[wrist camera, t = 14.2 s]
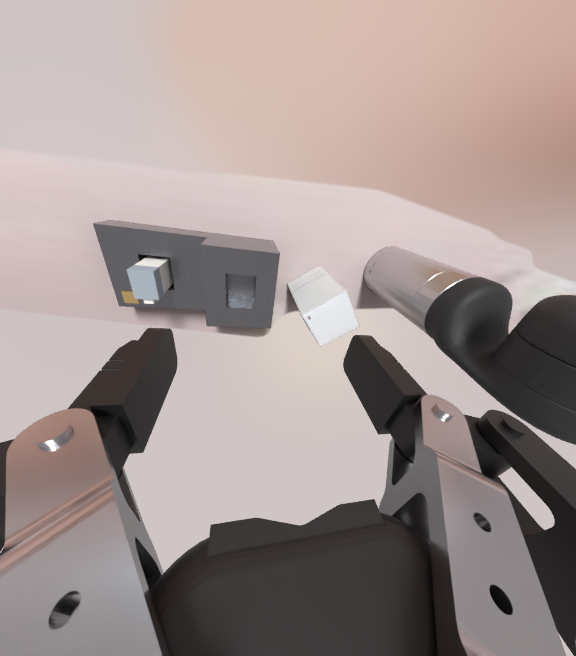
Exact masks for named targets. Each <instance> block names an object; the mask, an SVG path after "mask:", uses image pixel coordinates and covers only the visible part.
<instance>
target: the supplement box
mask: <svg viewBox="0 0 576 656" xmlns="http://www.w3.org/2000/svg"><path fill="white" fill-rule="evenodd" d="M287 285H288V287H289V289H290V292H291V294H292V296H293V298H294V301H295V303H296V305H297V307H298V310H299V312H300V314H301V316H302V318H303V320H304V321H305V323H306V325H307V327H308V328H309V330H310V331H311V333H312V335H313V336H314V338H315V339H316V341H317V342H318V344H319V346H323V345H325V344H327V343H329V342H330V341H332V340H334V339H336V338H338V337H340V336H342V335H344V334H346V333H348V332H350V331H352V330H354V329H356V328H358V327H359V323H358V321H357V318H356V315H355V312H354V309H353V306H352V304H351V301H350V298H349V295H348V292H347V290H345V289H344V288H343V287H342V286H341V285H340V284H339V283H338V282H337V281H336V280H334V279H333V278H332V277H331V276H330V275H329V274H328V273H327V272H326V271H325V270H324V269H323V268H322V267H321V266H317V267H316V268H314V269H312V270H310V271H309V272H307V273H305V274H303V275H302V276H300V277H298V278H297V279H295V280H293V281H291V282H290V283H288V284H287Z"/></svg>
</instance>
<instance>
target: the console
mask: <svg viewBox="0 0 576 656" xmlns="http://www.w3.org/2000/svg"><path fill="white" fill-rule="evenodd" d="M93 225H94V228H95V231H96V234H97V238H98V241H99V244H100V247H101V250H102V253H103V256H104V260H105V263H106V266H107V269H108V272H109V275H110V278H111V282H112V285H113V288H114V291H115V294H116V297H117V300H118V304H119V306H126V307H146V308H166V309H185V310H205V311H206V325H207V326H219V327H247V328H271V323H272V314H273V306H274V298H275V289H276V281H277V273H278V264H279V256H280V253H279V251H278V249H277V247H276V245H275V243H274V242H273V241H270V240H262V239H255V238H247V237H239V236H231V235H223V234H215V233H207V232H200V231H192V230H184V229H176V228H168V227H160V226H152V225H145V224H137V223H129V222H121V221H113V220H108V221H103V222H98V223H93ZM149 255H152V256H162V257H170V262H171V268H172V275H173V281H174V283H173V284H172V285H171V287H170V288H169V289H168V290H167V291H166V292H165V294H164V295H163V296H162V297H161V298H160V300H157V301H156V302H155V303H154V304H144V300H143V299H134V295H133V291H132V288H131V284H130V280H129V277H128V273H127V269H128V268H130V267H131V266H133V265H135V264H136V263H138V262H139V261H141V260H143V259H144V258H146V257H147V256H149Z"/></svg>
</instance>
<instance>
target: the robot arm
mask: <svg viewBox="0 0 576 656" xmlns="http://www.w3.org/2000/svg"><path fill="white" fill-rule="evenodd" d="M364 280H365V284H366V285H367V287H368V288H369V289H370V290H372V291H373V292H374V293H375V294H377V295H378V296H379V297H380V298H382V299H383V300H384V301H385V302H387V303H388V304H389V305H391V306H392V307H393V308H394V309H396V310H397V311H398V312H399V313H401V314H402V315H403V316H405V317H406V318H407V319H408V320H410V321H411V322H412V323H414V324H415V325H416V326H418V327H419V328H420V329H421V330H423V331H424V332H425V333H426V334H428V335H429V336H430V337H431V338H433V339H434V340H435V343H436V344H437V346H438V347H439V348H440V349H441V350H442V352H444V353H445V354H446V355H447V356H448V357H449V358H450V359H452V360H453V361H454V362H455V363H456V364H457V365H458V366H460V367H461V368H462V369H463V370H464V371H465V372H466V373H467V374H468V375H469V376H470V377H471V378H473V379H474V380H475V381H476V382H477V383H478V384H479V385H480V386H481V387H482V388H483V389H485V390H486V391H487V392H488V393H489V394H490V395H491V396H493V397H494V398H495V399H496V400H497V401H498V402H500V403H501V404H502V405H504V406H505V407H506V408H507V409H509V410H510V411H511V412H513V413H514V414H515V415H517V416H518V417H520V418H521V419H523V420H525V421H526V422H528V423H529V424H531V425H532V426H534V427H536V428H537V429H539V430H541V431H544V432H545V433H547V434H550V435H551V436H553V437H555V438H558V439H560V440H563V441H566V442H569V443H572V444H575V445H576V296H574V295H559V296H552V297H548V298H545V299H543V300H542V301H540V302H539V303H537V304H536V305H535V306H534V307H533V308H532V309H531V310H530V311H529V312H528V313H527V314H526V315H525V316H524V318H523V319H522V320H521V321H520V322H519V323H518V324H517V326H516V327H515V328H514V329H513V330H512V332H511V333H510V334H508V326H509V319H510V315H511V310H512V297H511V294H510V292H509V291H508V289H507V288H505V287H504V286H503V285H501V284H499V283H497V282H494V281H491V280H488V279H485V278H483V277H480V276H477V275H474V274H471V273H469V272H466V271H463V270H460V269H457V268H454V267H452V266H449V265H446V264H443V263H440V262H438V261H435V260H432V259H429V258H426V257H424V256H421V255H418V254H415V253H413V252H410V251H407V250H404V249H401V248H398V247H387V248H384V249H382V250H380V251H379V252H377V253H376V254H375V255H374V256H373V257H372V258H371V259H370V261H369V262H368V264H367V266H366V269H365V273H364ZM343 366H344V371H345V373H346V375H347V377H348V379H349V381H350V382H351V384H352V386H353V388H354V390H355V392H356V394H357V395H358V397H359V399H360V401H361V403H362V405H363V407H364V408H365V410H366V412H367V414H368V416H369V418H370V419H371V421H372V423H373V425H374V427H375V429H376V431H377V433H378V434H391V436H392V437H393V438H392V440H391V441H390V445H389V456H388V457H389V458H388V468H387V479H386V488H385V492H384V495H383V498H382V500H381V502H380V506H379V509H378V507H377V505H376V502H375V500H374V499H372V500H366V501H360V502H353V503H347V504H341V505H338V506H336V507H335V508H333V509H331V510H329V511H327V512H326V513H324V514H322V515H321V516H319V517H317V518H315V519H314V520H312V521H310V522H309V523H307V524H305V525H301V526H298V525H292V524H288V523H282V522H277V521H271V520H266V519H261V518H251V519H245V520H238V521H232V522H226V523H220V524H213V525H211V528H210V537H209V538H207V539H205V540H203V541H201V542H199V543H198V544H197V545H195V546H194V547H192V548H191V549H189V550H188V551H187V552H185V553H184V554H183V555H182V556H181V557H180V558H178V559H177V560H176V561H175V562H174V563H173V564H172V565H171V566H170V567H169V568H168V569H167V570H166V572H164V573H163V570H162V567H161V565H160V562H159V559H158V557H157V554H156V551H155V549H154V546H153V544H152V541H151V539H150V537H149V535H148V533H147V531H146V528H145V526H144V523H143V521H142V518H141V515H140V512H139V509H138V507H137V504H136V501H135V498H134V496H133V493H132V490H131V487H130V485H129V482H128V479H127V476H126V473H125V471H124V468H123V466H124V464H125V462H126V459H127V457H128V455H129V454H131V453H143V452H144V449H145V447H146V444H147V442H148V439H149V437H150V435H151V432H152V430H153V427H154V425H155V422H156V420H157V417H158V415H159V412H160V410H161V407H162V405H163V403H164V400H165V398H166V395H167V393H168V390H169V388H170V386H171V383H172V381H173V378H174V376H175V373H176V370H177V355H176V349H175V343H174V338H173V333H172V330H171V329H166V328H148V329H147V330H146V331H145V332H144V333H143V335H142V336H141V338H140V339H139V340H138V341H136V340H132V341H130V342H128V343H127V344H125V345H124V346H122V347H120V348H119V349H118V350H117V351H116V352H115V353H114V355H113V356H112V357H111V358H110V359H109V362H107V363H106V364H105V365H104V366H103V368H102V371H99V372H98V373H97V375H96V376H95V377H94V378H93V380H92V381H91V382H90V383H89V384H88V385H87V387H86V388H85V389H84V390H83V391H82V393H81V394H80V395H79V396H78V397H77V398H76V400H75V401H74V402H73V403H72V404H71V405H70V407H69V408H68V409H67V410H62V411H59V412H56V413H53V414H50V415H48V416H46V417H44V418H42V419H40V420H38V421H37V422H35V423H33V424H32V425H30V426H29V427H28V428H26V429H25V430H23V431H22V432H21V433H20V434H19V435H18V436H17V437H16V438H15V439H13V440H9V441H6V442H2V443H0V551H1V549H2V548H3V546H4V548H3V550H2V552H1V553H0V656H566V654H565V651H564V648H563V645H562V643H561V640H560V637H559V635H558V633H559V634H560V635H561V637H562V639H563V640H564V642H565V643H566V645H567V646H568V648H569V649H570V650H571V652H572V653H573V655H574V656H576V469H575V468H574V467H572V466H571V465H570V464H569V463H568V462H567V461H566V460H565V459H563V458H562V457H561V456H560V455H559V454H558V453H557V452H555V451H554V450H553V449H552V448H551V447H550V446H549V445H547V444H546V443H545V442H544V441H543V440H542V439H541V438H539V437H538V436H537V435H536V434H535V433H534V432H533V431H531V430H530V429H529V428H528V427H527V426H526V425H524V424H523V423H522V422H520V421H519V420H517V419H516V418H514V417H512V416H510V415H508V414H506V413H504V412H501V411H497V410H489V411H487V412H486V413H485V414H484V415H483V416H482V417H481V418H476V417H472V416H468V415H463V414H462V412H461V411H460V410H459V409H458V408H457V407H455V406H454V405H453V404H451V403H450V402H449V401H447V400H445V399H443V398H440V397H438V396H435V395H427V394H426V392H425V391H424V390H423V389H422V388H421V387H420V386H419V385H418V383H417V382H416V381H415V380H414V379H413V378H412V377H411V376H410V374H409V373H407V371H406V370H404V369H403V367H402V366H401V364H400V363H398V362H397V360H396V359H395V358H394V356H393V355H392V354H391V353H390V352H388V351H387V350H385V349H384V348H383V347H381V346H380V345H379V344H378V343H377V342H376V340H375V339H374V338H373V337H372V336H366V335H355V336H353V338H352V340H351V342H350V345H349V348H348V350H347V353H346V356H345V358H344V363H343ZM511 467H512V468H513V469H514V470H515V471H516V472H517V473H518V474H519V475H520V477H521V478H522V479H523V480H524V481H525V482H526V483H527V484H528V485H529V486H530V487H531V489H532V490H533V491H534V492H536V494H537V495H538V496H539V497H540V498H541V499H542V500H543V502H544V503H545V504H546V505H547V506H548V507H549V509H550V510H551V512H552V514H553V516H554V519H555V524H554V526H553V527H552V528H550V529H547V530H544V529H542V528H541V527H540V526H539V525H538V524H537V523H536V521H535V520H534V519H533V518H532V516H531V515H530V514H529V513H528V512H527V510H526V509H525V508H524V507H523V506H522V504H521V503H520V502H519V501H518V500H517V499H516V497H515V496H514V495H513V494H512V492H511V491H510V490H509V489H508V488H507V487H506V485H505V484H504V483H503V482H502V481H501V479H500V478H499V477H498V476H499V475H500V474H502V473H503V472H505V471H506V470H508V469H509V468H511ZM557 631H558V632H557Z"/></svg>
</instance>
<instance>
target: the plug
mask: <svg viewBox="0 0 576 656" xmlns="http://www.w3.org/2000/svg"><path fill="white" fill-rule="evenodd" d="M127 273H128V277H129V280H130V284H131V288H132V291H133V295H134V299H143V300H144V304H154V303H155V302H156V301H157V300H160V298H161V297H162V296H163V295H164V294H165V292H166V291H167V290H168V289H169V288H170V287H171V285H172V284H173V283H174V281H173V275H172V268H171V262H170V257H162V256H152V255H149V256H147V257H146V258H144V259H143V260H141V261H139V262H138V263H136V264H135V265H133V266H131V267H130V268H128V269H127Z"/></svg>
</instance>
